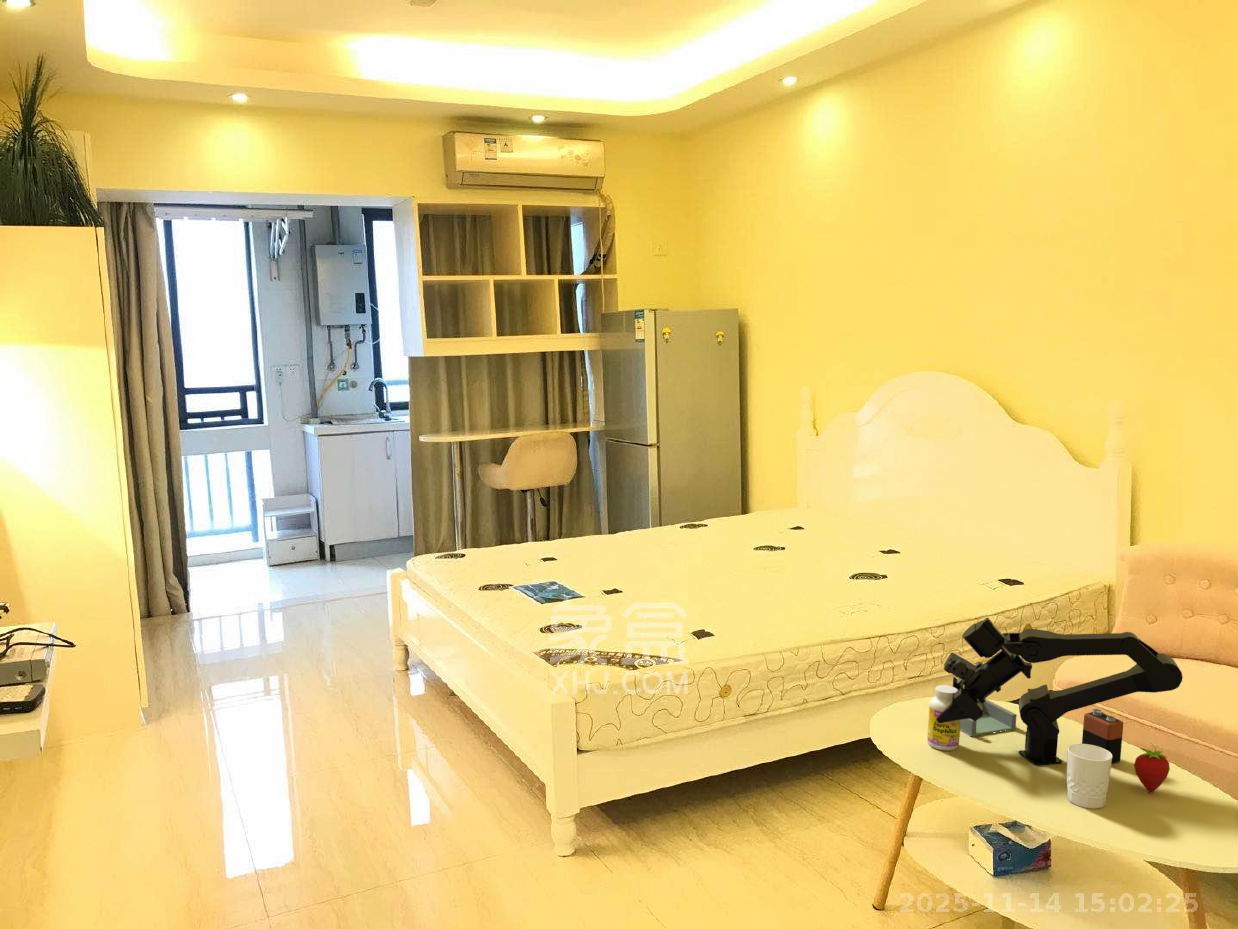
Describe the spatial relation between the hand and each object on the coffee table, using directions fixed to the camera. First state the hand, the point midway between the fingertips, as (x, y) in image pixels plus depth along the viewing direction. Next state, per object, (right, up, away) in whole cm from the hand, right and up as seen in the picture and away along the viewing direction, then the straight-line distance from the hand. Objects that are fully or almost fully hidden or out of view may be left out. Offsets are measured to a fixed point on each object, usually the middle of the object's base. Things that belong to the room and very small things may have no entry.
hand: (938, 715), depth 223 cm
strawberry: (+35, -10, -21) cm, 42 cm away
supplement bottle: (+1, -7, +1) cm, 7 cm away
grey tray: (+13, -5, +12) cm, 19 cm away
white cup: (+21, -11, -25) cm, 34 cm away
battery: (+33, -8, -5) cm, 34 cm away
